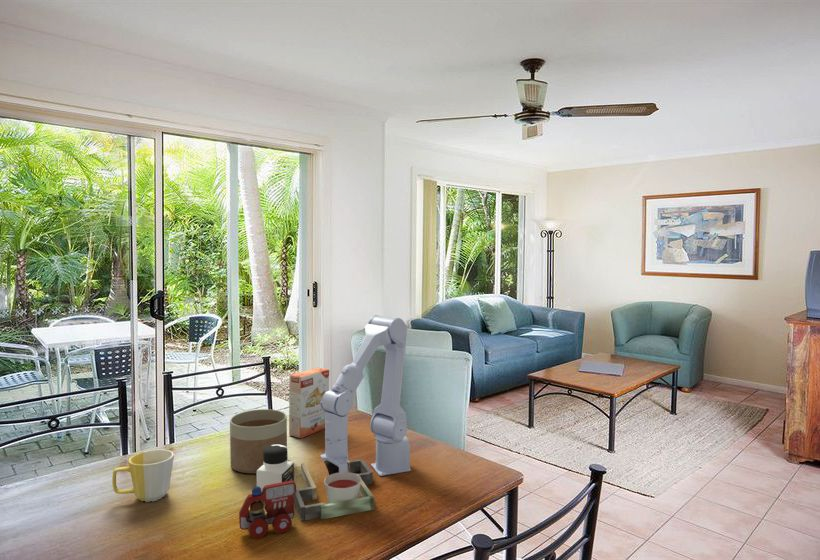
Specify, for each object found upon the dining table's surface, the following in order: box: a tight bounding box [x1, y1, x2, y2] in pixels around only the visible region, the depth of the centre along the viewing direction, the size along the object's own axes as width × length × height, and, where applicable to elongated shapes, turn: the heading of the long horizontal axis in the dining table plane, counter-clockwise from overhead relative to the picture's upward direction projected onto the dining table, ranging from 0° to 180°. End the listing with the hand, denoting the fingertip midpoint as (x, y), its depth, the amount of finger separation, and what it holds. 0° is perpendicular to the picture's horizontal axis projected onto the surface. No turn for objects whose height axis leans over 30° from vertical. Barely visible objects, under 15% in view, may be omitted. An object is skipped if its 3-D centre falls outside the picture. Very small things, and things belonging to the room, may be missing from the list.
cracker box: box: [288, 367, 330, 439], centre depth 179 cm, size 14×6×21 cm, turn 147°
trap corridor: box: [294, 459, 375, 521], centre depth 137 cm, size 22×26×3 cm
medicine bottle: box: [256, 444, 295, 492], centre depth 135 cm, size 7×7×12 cm
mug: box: [111, 448, 175, 503], centre depth 132 cm, size 14×10×10 cm
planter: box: [229, 408, 288, 474], centre depth 153 cm, size 16×16×14 cm
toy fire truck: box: [238, 480, 297, 539], centre depth 118 cm, size 7×12×10 cm, turn 112°
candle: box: [323, 472, 361, 504], centre depth 129 cm, size 9×9×6 cm
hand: (336, 488), depth 135 cm, fingers closed
